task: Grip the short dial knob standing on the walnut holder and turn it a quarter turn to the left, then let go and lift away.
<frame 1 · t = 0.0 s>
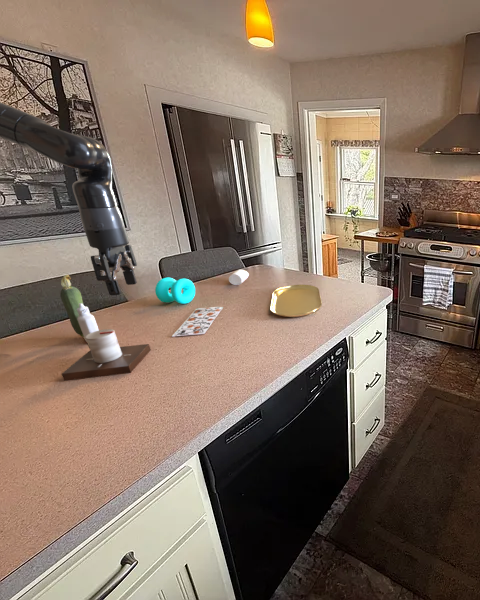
hand: (124, 289, 85), 19 cm above the worktop, tool pointing down, fingers open, 8 cm apart
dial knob: (104, 345, 85), point 6 cm above the worktop, hinge at 0.0°
holder: (111, 364, 87), on the worktop
eye dropper bottle: (94, 340, 99), on the worktop
roll: (241, 281, 155), on the worktop
donuts: (179, 303, 129), on the worktop
paper towel: (200, 320, 113), on the worktop
serving platter: (296, 301, 131), on the worktop
vegetable: (86, 336, 102), on the worktop
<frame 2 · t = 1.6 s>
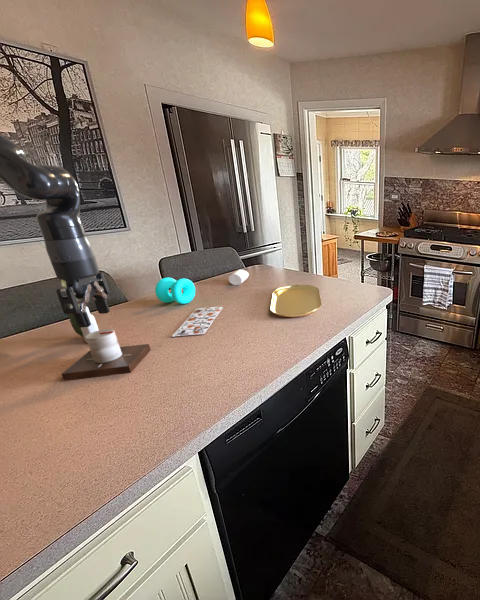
hand: (95, 319, 82), 13 cm above the worktop, tool pointing down, fingers open, 8 cm apart
nothing on the worktop moved.
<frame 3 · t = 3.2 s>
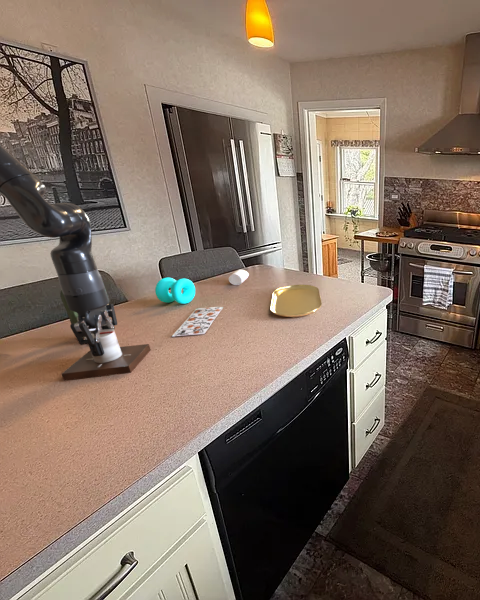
hand: (105, 349, 85), 5 cm above the worktop, tool pointing down, fingers closed on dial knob, 5 cm apart
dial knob: (104, 345, 85), point 6 cm above the worktop, hinge at 0.2°, touching gripper
everything else where it was.
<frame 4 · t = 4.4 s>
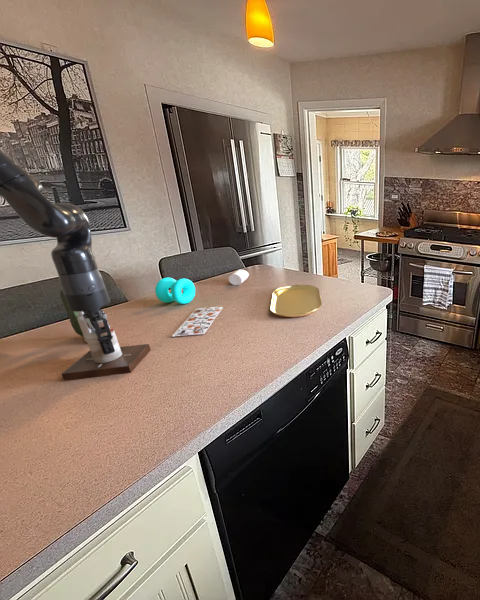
hand: (106, 349, 85), 5 cm above the worktop, tool pointing down, fingers closed on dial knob, 5 cm apart
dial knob: (104, 345, 85), point 6 cm above the worktop, hinge at 38.0°, touching gripper
everything else where it was.
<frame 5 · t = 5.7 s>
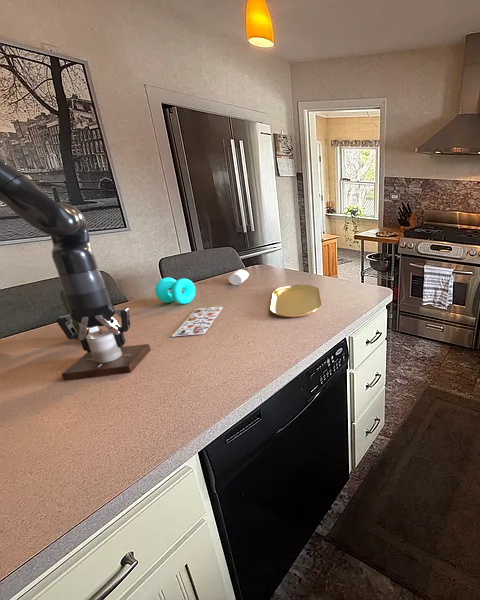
hand: (106, 348, 85), 5 cm above the worktop, tool pointing down, fingers closed on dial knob, 5 cm apart
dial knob: (104, 345, 85), point 6 cm above the worktop, hinge at 107.9°, touching gripper
everything else where it was.
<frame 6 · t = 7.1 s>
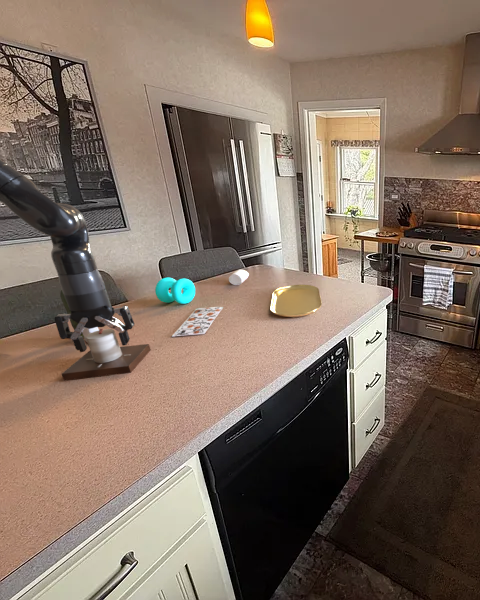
hand: (105, 347, 85), 5 cm above the worktop, tool pointing down, fingers open, 8 cm apart
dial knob: (104, 345, 85), point 6 cm above the worktop, hinge at 108.6°
everything else where it was.
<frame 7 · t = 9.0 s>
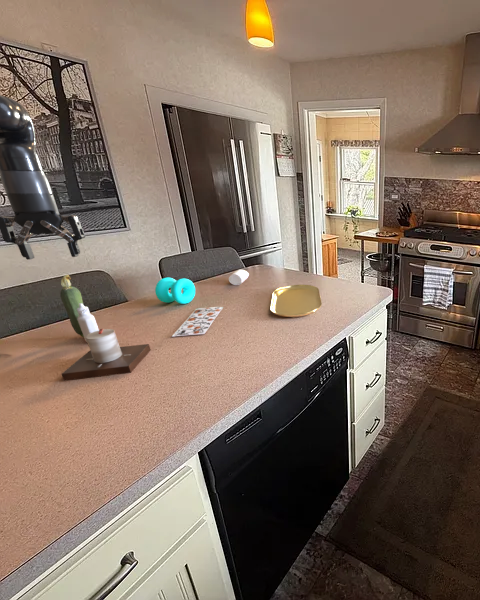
hand: (53, 257, 83), 27 cm above the worktop, tool pointing down, fingers open, 8 cm apart
nothing on the worktop moved.
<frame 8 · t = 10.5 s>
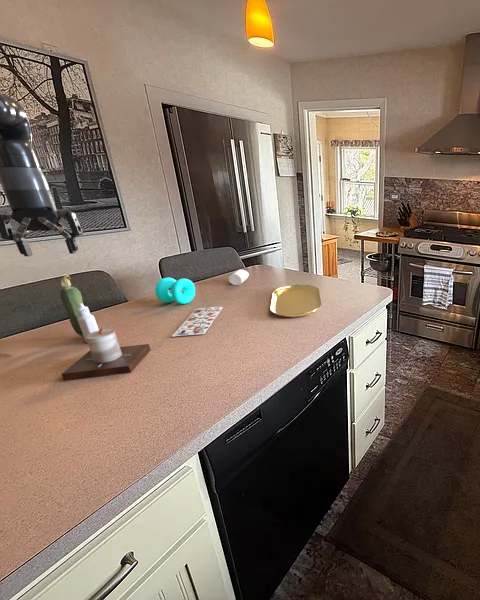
hand: (51, 254, 83), 28 cm above the worktop, tool pointing down, fingers open, 8 cm apart
nothing on the worktop moved.
at the end: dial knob at +109° (first picture: +0°); the gripper is holding nothing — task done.
